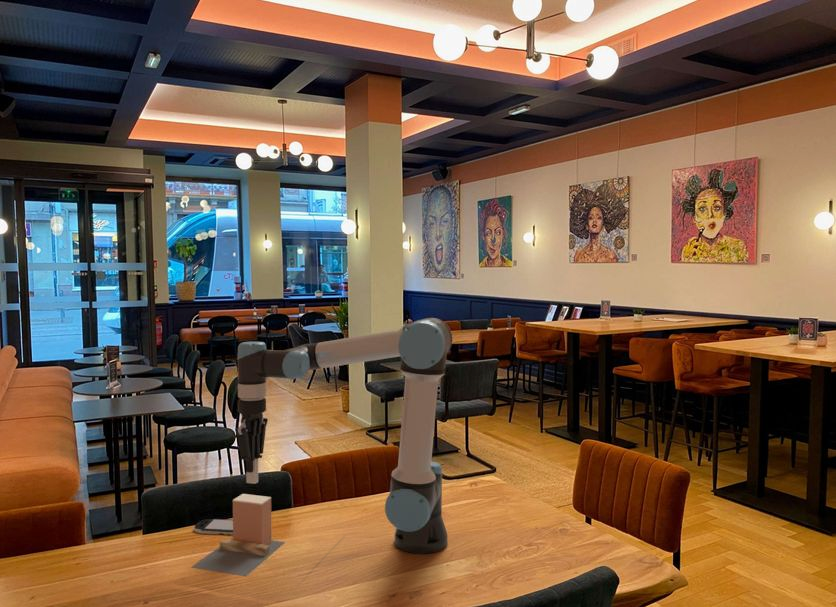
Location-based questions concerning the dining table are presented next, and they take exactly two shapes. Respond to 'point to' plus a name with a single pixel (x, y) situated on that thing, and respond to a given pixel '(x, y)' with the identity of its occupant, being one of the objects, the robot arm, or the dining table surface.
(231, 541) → the bar
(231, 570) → the mat
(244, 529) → the block
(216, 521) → the gaming console
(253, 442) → the robot arm
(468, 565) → the dining table surface
